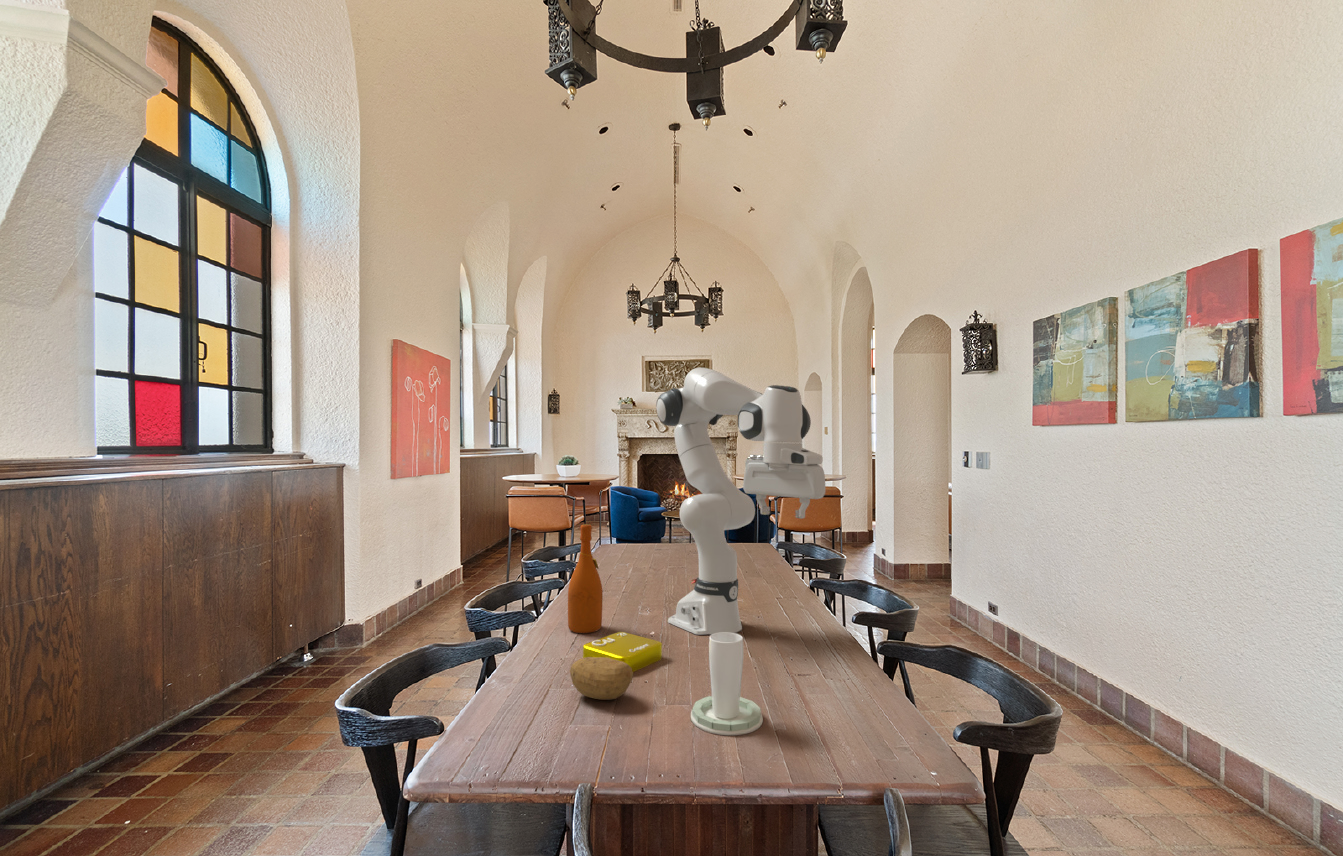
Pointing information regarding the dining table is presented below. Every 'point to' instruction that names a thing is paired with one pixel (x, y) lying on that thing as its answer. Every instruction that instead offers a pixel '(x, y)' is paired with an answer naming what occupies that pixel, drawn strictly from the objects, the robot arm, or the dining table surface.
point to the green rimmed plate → (739, 725)
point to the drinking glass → (726, 673)
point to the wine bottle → (585, 590)
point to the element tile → (625, 649)
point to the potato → (601, 677)
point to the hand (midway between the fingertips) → (782, 516)
